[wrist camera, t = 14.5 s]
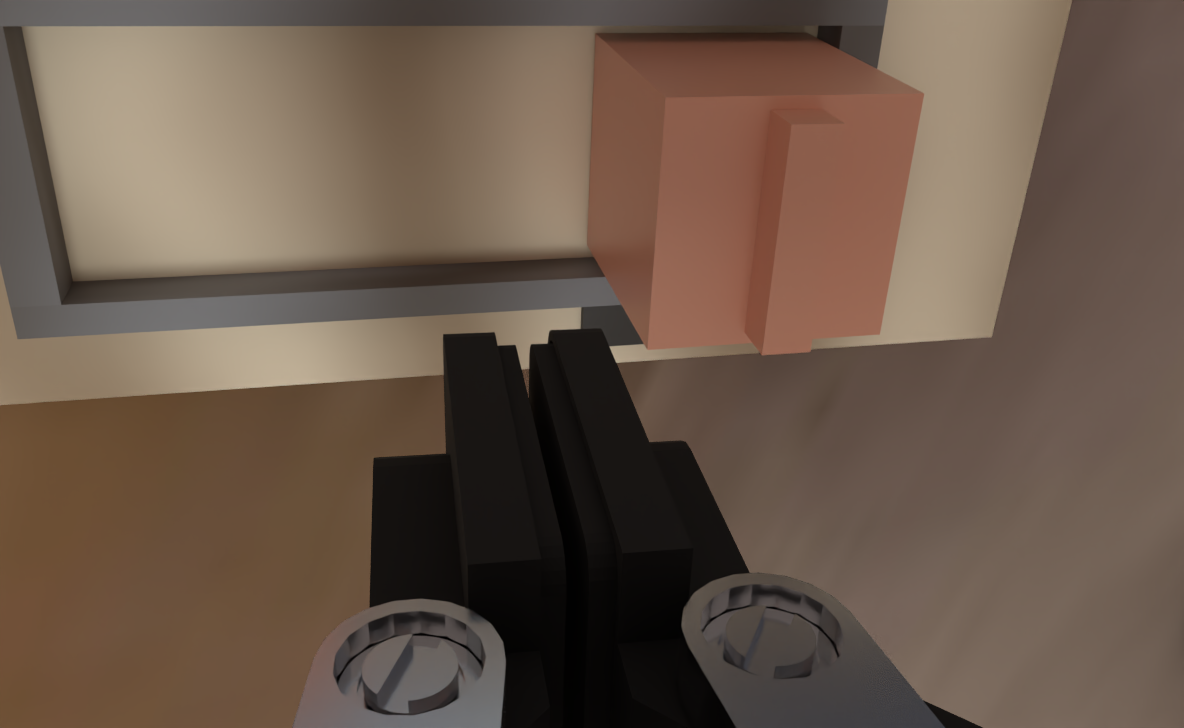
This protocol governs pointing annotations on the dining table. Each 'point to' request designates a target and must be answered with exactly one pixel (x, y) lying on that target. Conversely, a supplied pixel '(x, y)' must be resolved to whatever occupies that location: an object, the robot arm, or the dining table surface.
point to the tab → (746, 186)
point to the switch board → (419, 179)
